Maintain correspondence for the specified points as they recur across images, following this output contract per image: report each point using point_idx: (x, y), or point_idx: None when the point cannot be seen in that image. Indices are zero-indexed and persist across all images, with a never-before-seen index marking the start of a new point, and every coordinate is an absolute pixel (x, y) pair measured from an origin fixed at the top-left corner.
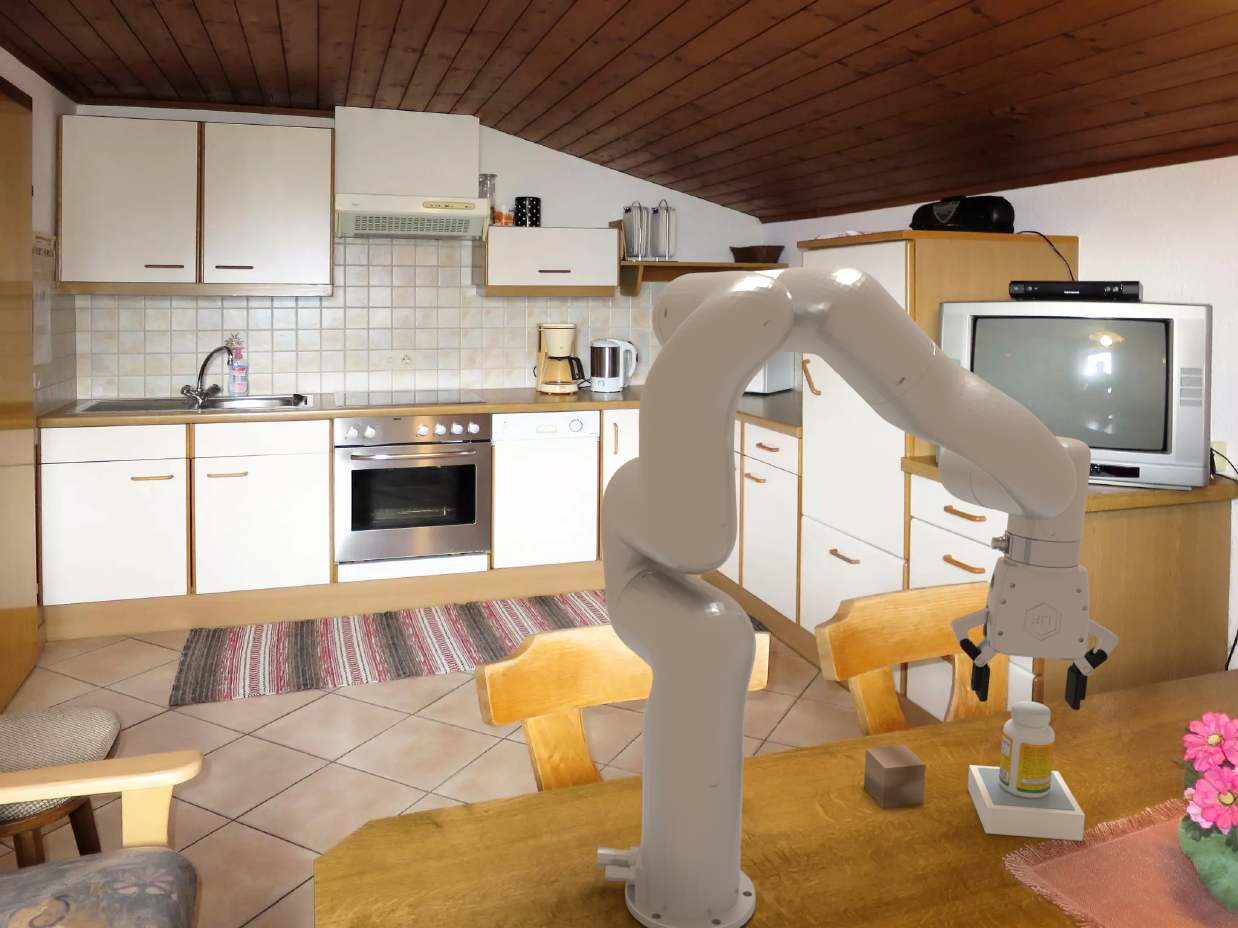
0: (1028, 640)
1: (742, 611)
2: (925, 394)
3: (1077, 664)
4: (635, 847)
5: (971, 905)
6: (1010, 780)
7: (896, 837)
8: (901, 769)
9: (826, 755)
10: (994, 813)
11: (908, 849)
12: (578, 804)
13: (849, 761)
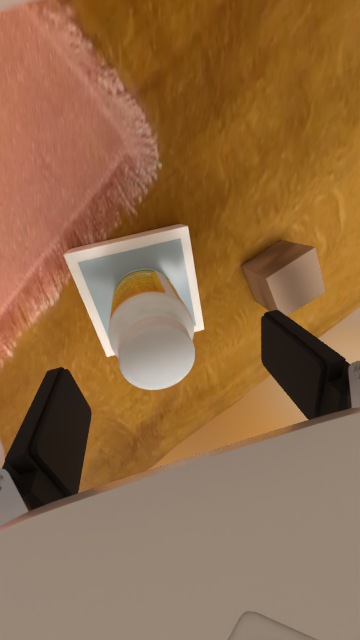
0: (338, 562)
1: None
2: None
3: (15, 506)
4: None
5: None
6: (164, 277)
7: (275, 174)
8: (292, 259)
9: (316, 324)
10: (177, 227)
11: (265, 146)
12: None
13: (298, 322)
